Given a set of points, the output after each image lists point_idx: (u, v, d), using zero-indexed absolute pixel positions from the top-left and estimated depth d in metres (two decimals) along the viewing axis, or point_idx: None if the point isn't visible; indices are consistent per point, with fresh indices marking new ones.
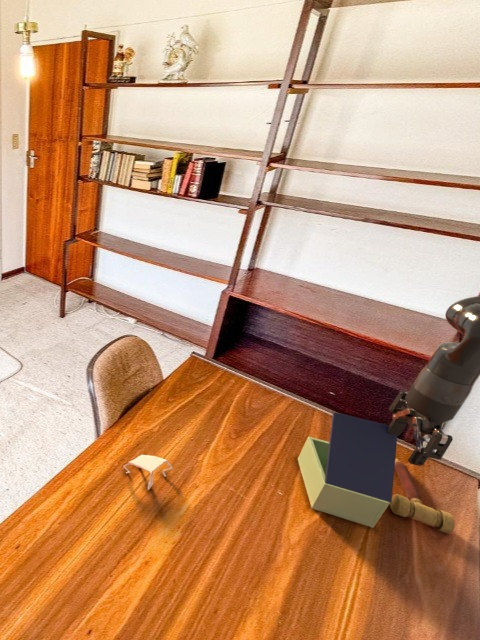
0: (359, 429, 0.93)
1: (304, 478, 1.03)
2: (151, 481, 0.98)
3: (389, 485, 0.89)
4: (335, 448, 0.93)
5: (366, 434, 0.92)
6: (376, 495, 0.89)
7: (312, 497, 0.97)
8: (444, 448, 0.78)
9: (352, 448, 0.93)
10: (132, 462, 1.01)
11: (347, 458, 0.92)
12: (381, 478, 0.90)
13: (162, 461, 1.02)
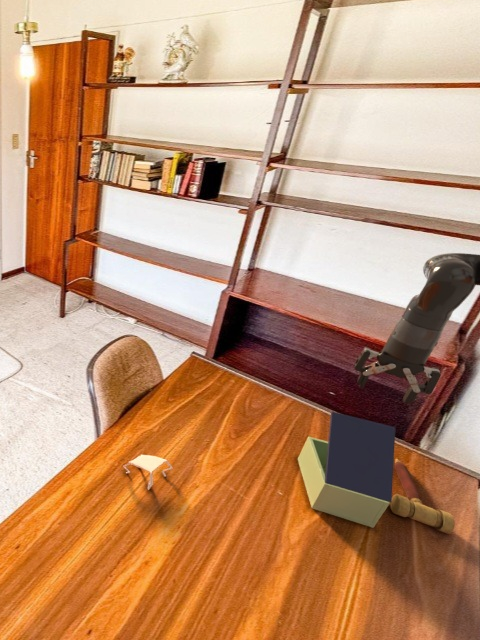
0: (357, 428, 0.94)
1: (304, 478, 1.03)
2: (151, 481, 0.98)
3: (388, 485, 0.89)
4: (334, 448, 0.94)
5: (364, 434, 0.93)
6: (376, 495, 0.89)
7: (312, 497, 0.97)
8: None
9: (351, 448, 0.93)
10: (132, 462, 1.01)
11: (346, 458, 0.93)
12: (380, 478, 0.90)
13: (162, 461, 1.02)
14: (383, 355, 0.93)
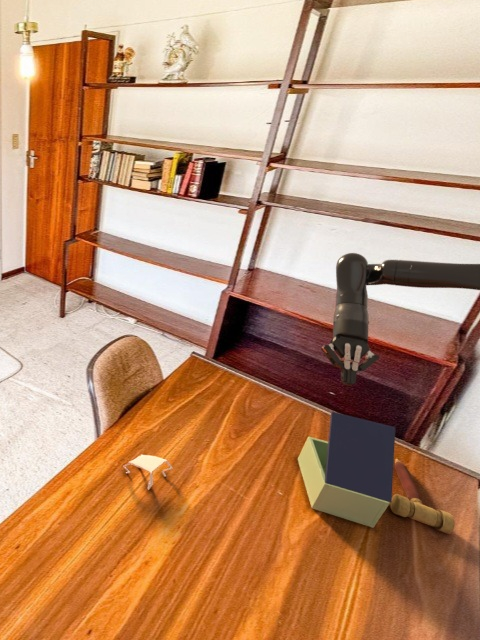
0: (357, 428, 0.94)
1: (304, 478, 1.03)
2: (151, 481, 0.98)
3: (388, 485, 0.89)
4: (334, 448, 0.94)
5: (364, 434, 0.93)
6: (376, 495, 0.89)
7: (312, 497, 0.97)
8: None
9: (351, 448, 0.93)
10: (132, 462, 1.01)
11: (346, 458, 0.93)
12: (380, 478, 0.90)
13: (162, 461, 1.02)
14: (334, 339, 1.07)
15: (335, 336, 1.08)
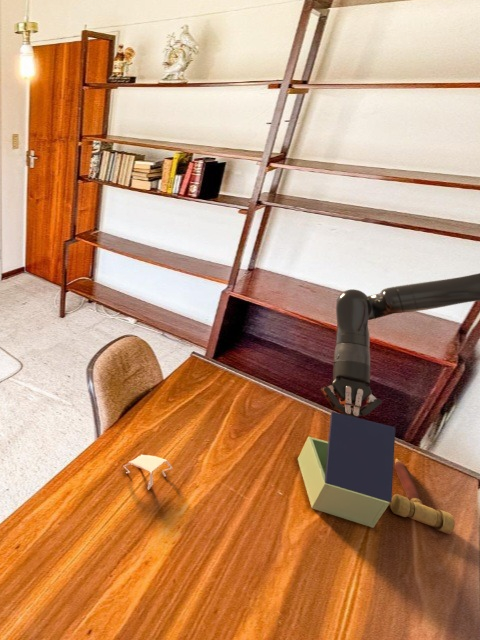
0: (357, 428, 0.94)
1: (304, 478, 1.03)
2: (151, 481, 0.98)
3: (388, 485, 0.89)
4: (334, 448, 0.94)
5: (364, 434, 0.93)
6: (376, 495, 0.89)
7: (312, 497, 0.97)
8: None
9: (351, 448, 0.93)
10: (132, 462, 1.01)
11: (346, 458, 0.93)
12: (380, 478, 0.90)
13: (162, 461, 1.02)
14: (335, 381, 1.03)
15: (335, 378, 1.03)
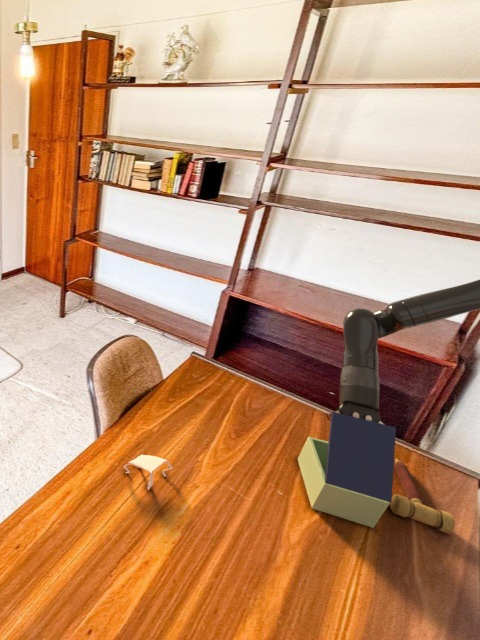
0: (357, 428, 0.94)
1: (304, 478, 1.03)
2: (151, 481, 0.98)
3: (388, 485, 0.89)
4: (335, 448, 0.94)
5: (365, 434, 0.93)
6: (376, 495, 0.89)
7: (312, 497, 0.97)
8: None
9: (351, 448, 0.93)
10: (132, 462, 1.01)
11: (346, 458, 0.93)
12: (380, 478, 0.90)
13: (162, 461, 1.02)
14: (341, 407, 0.97)
15: (342, 403, 0.98)
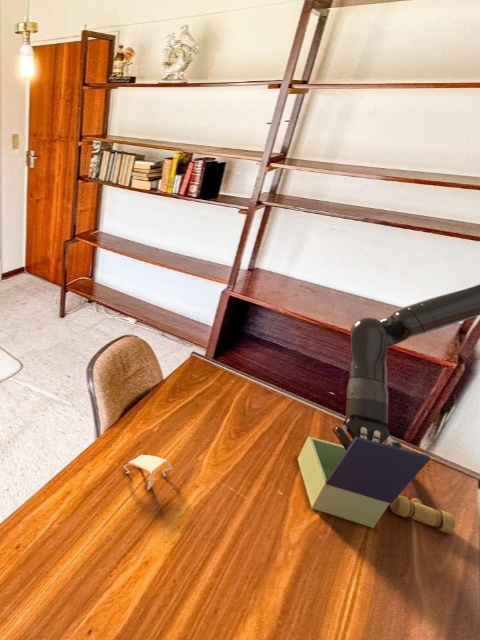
0: (381, 454, 0.83)
1: (304, 478, 1.03)
2: (151, 481, 0.98)
3: (394, 494, 0.87)
4: (346, 464, 0.88)
5: (387, 459, 0.83)
6: (377, 498, 0.89)
7: (312, 497, 0.97)
8: None
9: (365, 466, 0.86)
10: (132, 462, 1.01)
11: (356, 472, 0.88)
12: (388, 489, 0.87)
13: (162, 461, 1.02)
14: (348, 421, 0.93)
15: (349, 417, 0.93)
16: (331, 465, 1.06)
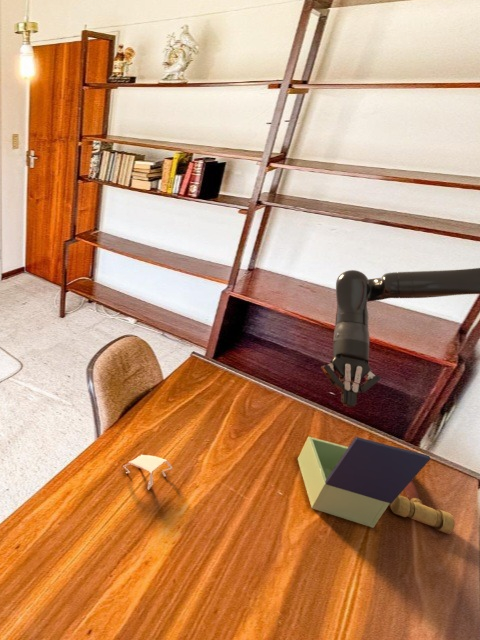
0: (381, 454, 0.83)
1: (304, 478, 1.03)
2: (151, 481, 0.98)
3: (394, 494, 0.87)
4: (346, 464, 0.88)
5: (388, 459, 0.83)
6: (377, 498, 0.89)
7: (312, 497, 0.97)
8: None
9: (365, 466, 0.86)
10: (132, 462, 1.01)
11: (356, 472, 0.88)
12: (388, 489, 0.87)
13: (162, 461, 1.02)
14: (334, 359, 1.05)
15: (335, 356, 1.06)
16: (331, 465, 1.06)
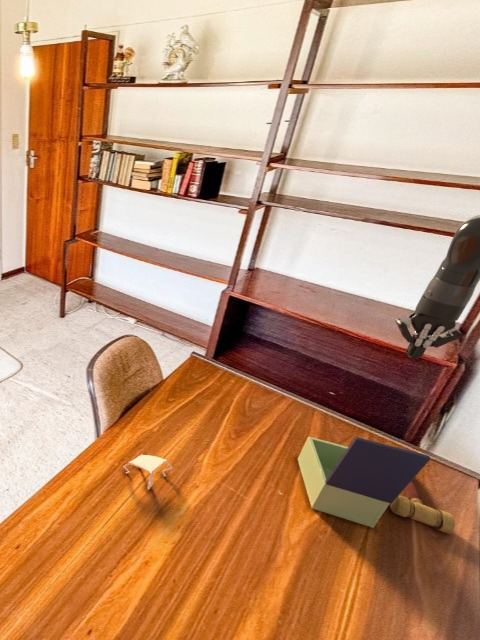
0: (381, 454, 0.83)
1: (304, 478, 1.03)
2: (151, 481, 0.98)
3: (394, 494, 0.87)
4: (346, 464, 0.88)
5: (388, 459, 0.83)
6: (377, 498, 0.89)
7: (312, 497, 0.97)
8: None
9: (365, 466, 0.86)
10: (132, 462, 1.01)
11: (356, 472, 0.88)
12: (388, 489, 0.87)
13: (162, 461, 1.02)
14: (415, 318, 0.97)
15: (417, 313, 0.96)
16: (331, 465, 1.06)
